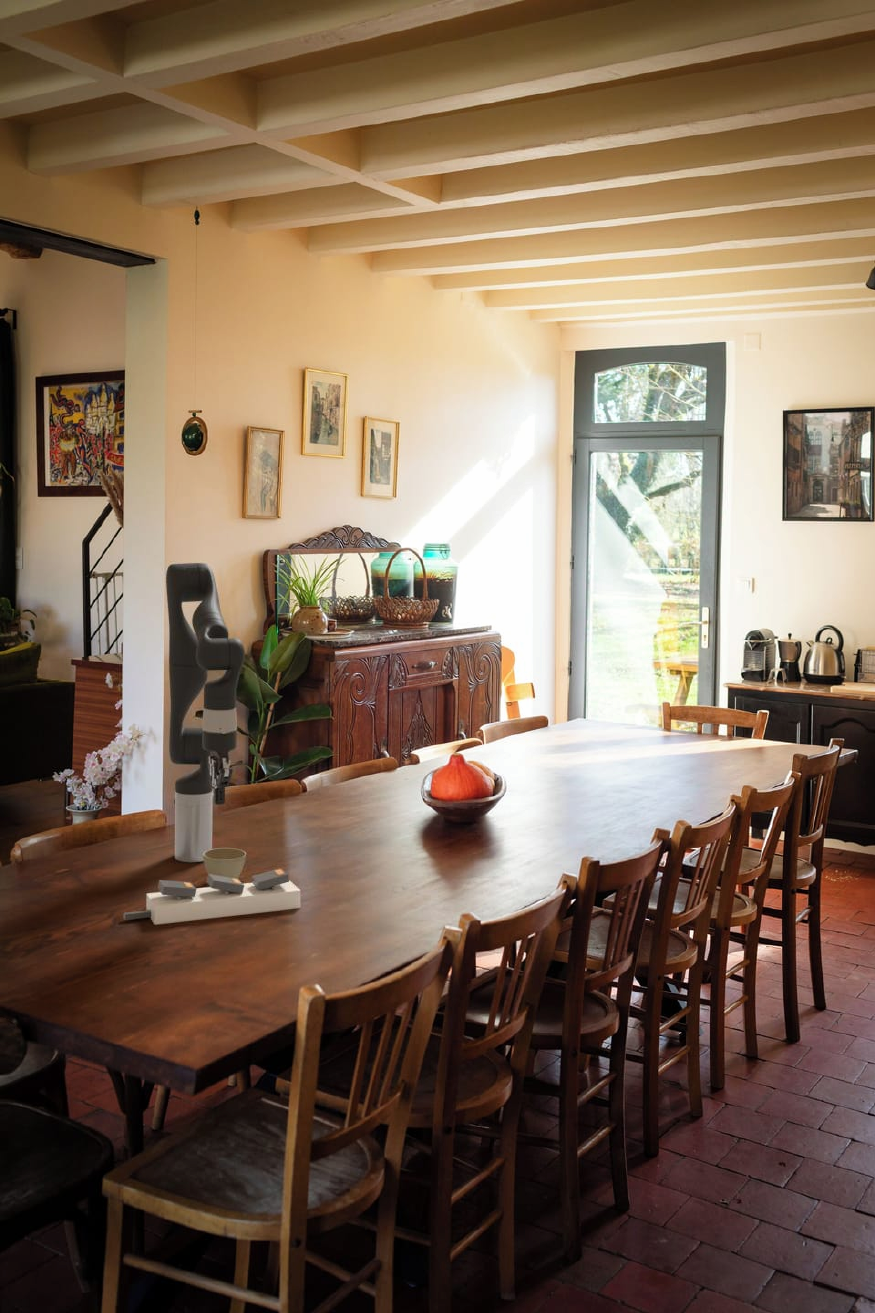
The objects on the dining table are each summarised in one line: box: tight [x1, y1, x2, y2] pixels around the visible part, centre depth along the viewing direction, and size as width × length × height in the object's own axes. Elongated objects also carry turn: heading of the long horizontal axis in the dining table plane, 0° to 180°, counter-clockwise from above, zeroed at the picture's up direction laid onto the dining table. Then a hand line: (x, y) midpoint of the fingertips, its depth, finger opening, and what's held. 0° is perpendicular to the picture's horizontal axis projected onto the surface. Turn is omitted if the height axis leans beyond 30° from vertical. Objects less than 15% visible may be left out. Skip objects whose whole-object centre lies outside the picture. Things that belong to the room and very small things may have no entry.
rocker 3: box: [251, 867, 290, 890], centre depth 260 cm, size 5×7×2 cm
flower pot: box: [203, 847, 247, 879], centre depth 275 cm, size 10×10×7 cm
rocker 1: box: [157, 879, 197, 897], centre depth 252 cm, size 5×7×2 cm
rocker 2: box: [206, 873, 245, 893], centre depth 256 cm, size 5×7×2 cm
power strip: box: [123, 879, 302, 926], centre depth 255 cm, size 9×38×5 cm, turn 115°
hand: (219, 803), depth 261 cm, fingers closed
